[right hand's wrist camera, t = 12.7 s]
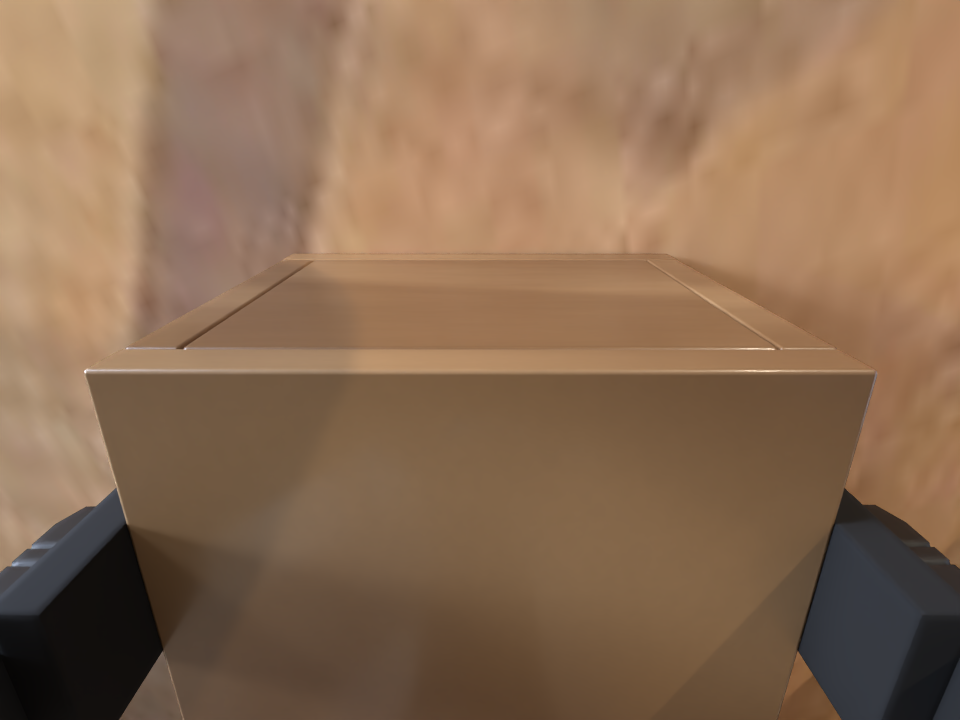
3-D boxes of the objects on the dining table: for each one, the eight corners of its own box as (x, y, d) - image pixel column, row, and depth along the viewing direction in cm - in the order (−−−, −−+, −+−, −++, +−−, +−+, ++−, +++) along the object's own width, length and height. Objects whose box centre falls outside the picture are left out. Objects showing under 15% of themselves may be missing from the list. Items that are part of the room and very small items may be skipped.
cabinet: (617, 652, 22) (705, 973, 13) (342, 652, 22) (253, 972, 13) (667, 253, 16) (881, 370, 7) (292, 253, 16) (79, 369, 7)
